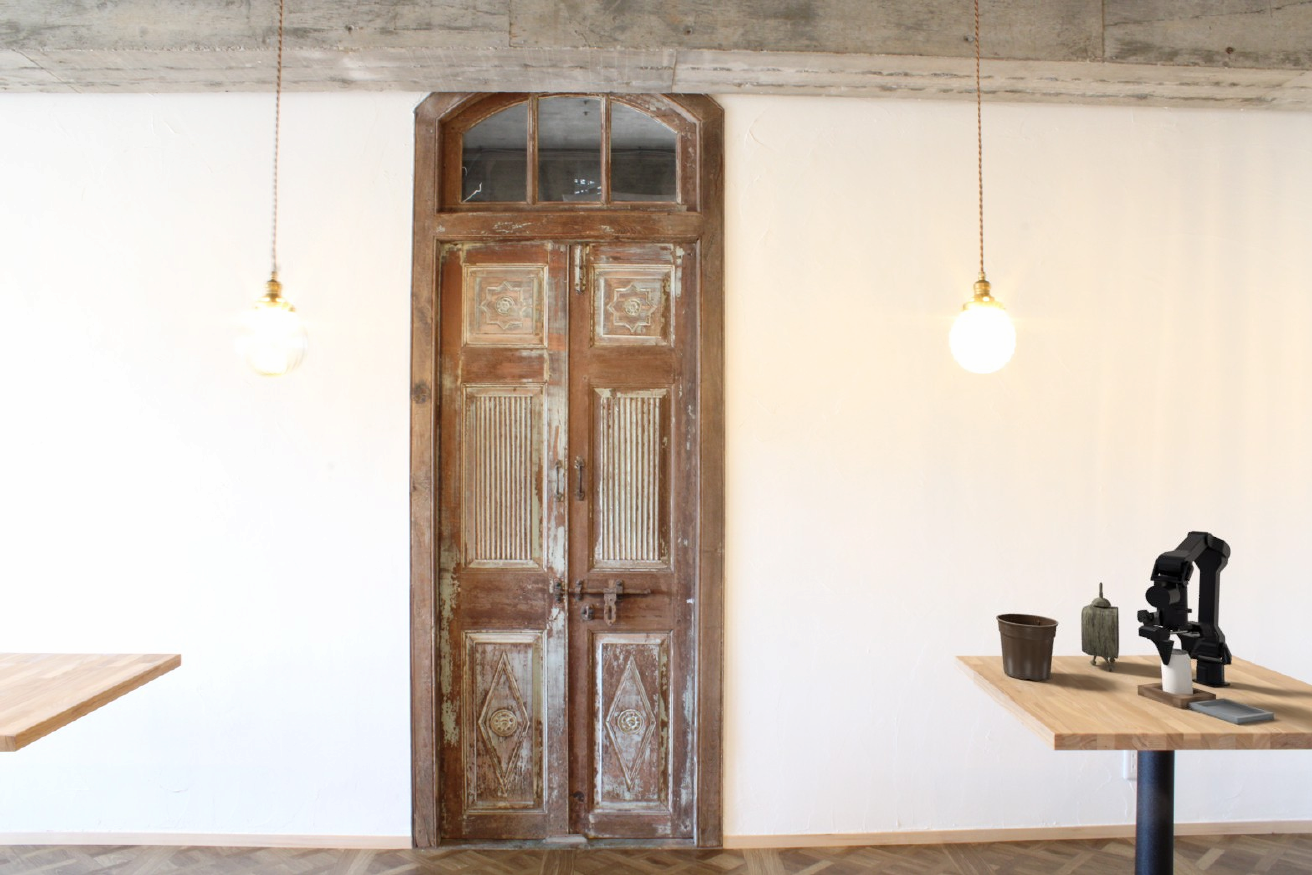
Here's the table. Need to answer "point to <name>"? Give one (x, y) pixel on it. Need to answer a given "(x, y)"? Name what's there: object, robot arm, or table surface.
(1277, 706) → the table surface
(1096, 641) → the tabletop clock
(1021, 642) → the plant pot
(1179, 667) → the can
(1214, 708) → the tray
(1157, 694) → the wooden square frame
